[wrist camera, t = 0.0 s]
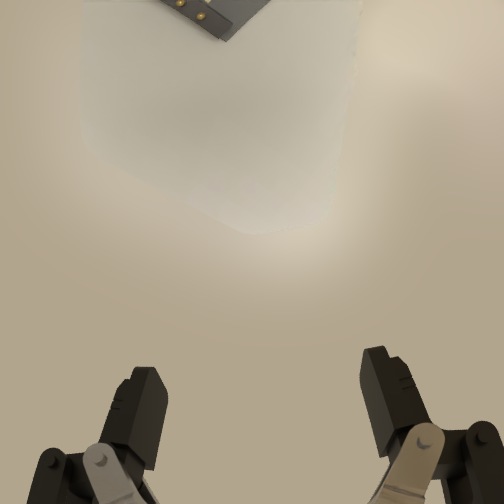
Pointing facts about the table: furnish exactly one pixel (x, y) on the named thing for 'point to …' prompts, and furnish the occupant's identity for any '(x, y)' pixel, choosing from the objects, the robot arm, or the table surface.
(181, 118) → the table surface
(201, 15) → the header pins
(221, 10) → the header mat
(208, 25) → the header strip
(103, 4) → the table surface
